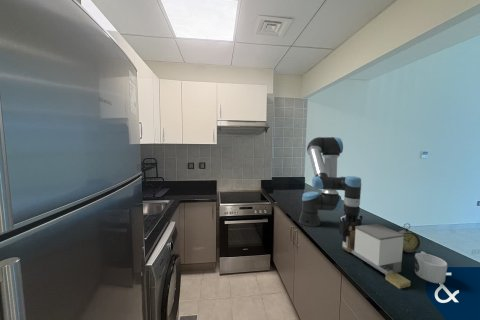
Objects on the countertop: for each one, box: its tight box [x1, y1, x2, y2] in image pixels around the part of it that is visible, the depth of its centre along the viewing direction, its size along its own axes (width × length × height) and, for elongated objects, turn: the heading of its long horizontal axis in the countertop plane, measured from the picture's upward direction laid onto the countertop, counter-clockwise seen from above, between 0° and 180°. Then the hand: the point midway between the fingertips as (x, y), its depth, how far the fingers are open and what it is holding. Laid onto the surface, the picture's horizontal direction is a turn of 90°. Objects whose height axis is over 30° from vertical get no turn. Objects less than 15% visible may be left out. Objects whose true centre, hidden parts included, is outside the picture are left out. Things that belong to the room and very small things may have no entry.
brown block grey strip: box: [341, 225, 393, 275], centre depth 99 cm, size 25×5×12 cm, turn 16°
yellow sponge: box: [384, 272, 412, 290], centre depth 85 cm, size 6×6×2 cm
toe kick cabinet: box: [354, 223, 404, 273], centre depth 96 cm, size 13×14×18 cm
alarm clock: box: [398, 222, 421, 254], centre depth 109 cm, size 11×5×16 cm, turn 83°
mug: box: [414, 251, 448, 284], centre depth 90 cm, size 13×10×8 cm
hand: (349, 246), depth 109 cm, fingers closed on brown block grey strip, 5 cm apart
